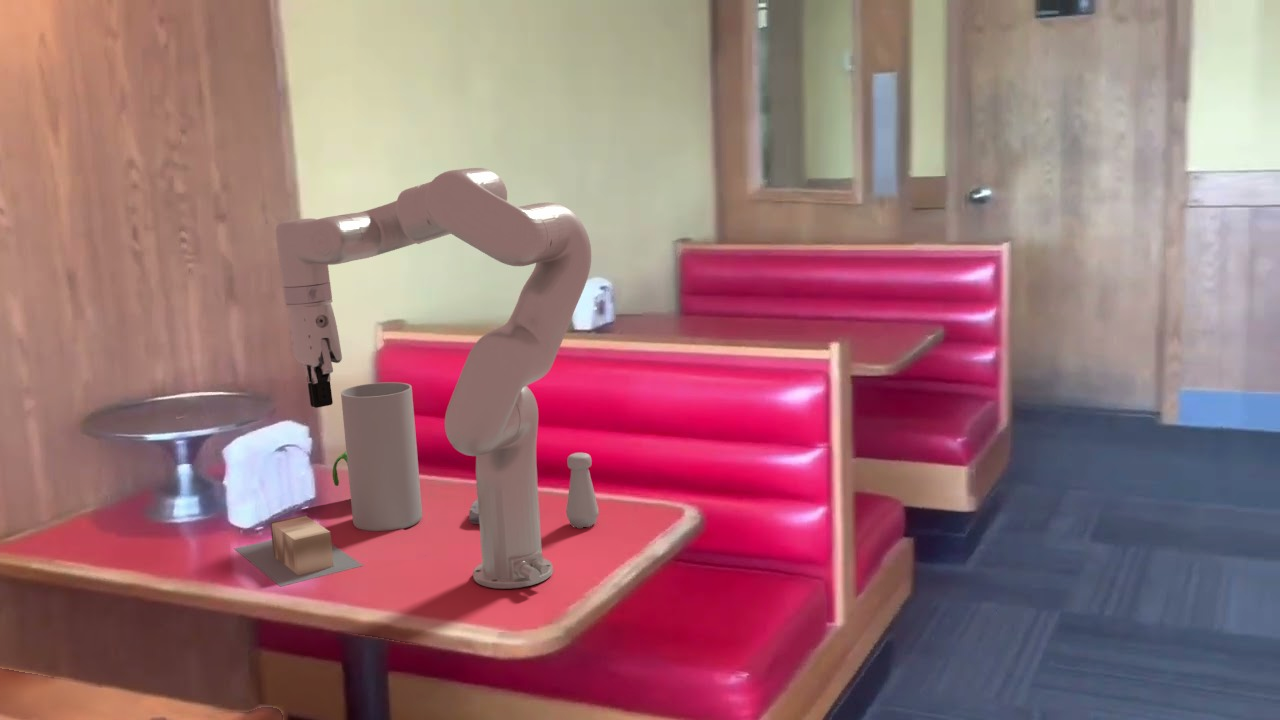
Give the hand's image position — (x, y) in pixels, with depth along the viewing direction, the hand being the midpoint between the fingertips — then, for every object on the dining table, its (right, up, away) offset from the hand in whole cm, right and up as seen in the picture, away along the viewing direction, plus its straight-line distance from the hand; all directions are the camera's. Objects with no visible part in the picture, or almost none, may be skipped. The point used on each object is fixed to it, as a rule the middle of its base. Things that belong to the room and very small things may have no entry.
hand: (321, 405), depth 204 cm
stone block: (+27, -22, +22) cm, 42 cm away
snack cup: (+1, -20, +38) cm, 43 cm away
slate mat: (-6, -26, +6) cm, 27 cm away
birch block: (-8, -23, +8) cm, 25 cm away
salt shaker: (+42, -22, +17) cm, 51 cm away
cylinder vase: (+6, -23, +23) cm, 33 cm away
